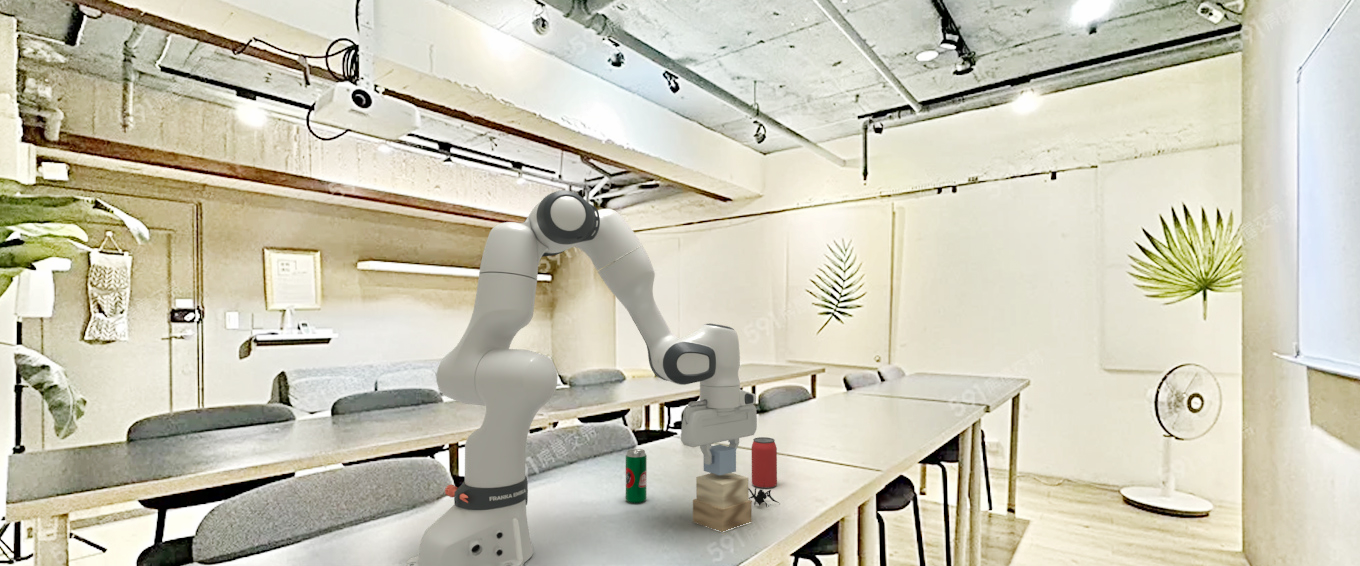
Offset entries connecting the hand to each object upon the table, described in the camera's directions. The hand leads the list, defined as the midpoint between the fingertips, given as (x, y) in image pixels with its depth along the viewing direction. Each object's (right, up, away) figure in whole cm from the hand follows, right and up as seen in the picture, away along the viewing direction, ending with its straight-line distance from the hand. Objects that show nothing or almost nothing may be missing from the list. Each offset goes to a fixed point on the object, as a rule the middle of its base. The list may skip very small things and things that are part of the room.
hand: (720, 461), depth 135 cm
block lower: (0, -13, -1) cm, 13 cm away
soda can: (-19, -14, +14) cm, 28 cm away
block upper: (0, -8, -1) cm, 8 cm away
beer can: (+13, -14, +27) cm, 33 cm away
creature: (+11, -14, +12) cm, 21 cm away
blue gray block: (0, -2, 0) cm, 2 cm away
